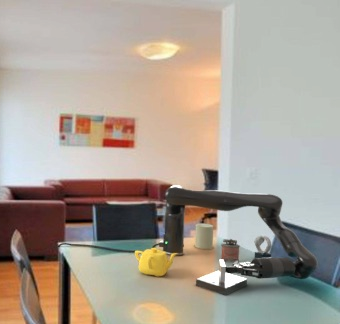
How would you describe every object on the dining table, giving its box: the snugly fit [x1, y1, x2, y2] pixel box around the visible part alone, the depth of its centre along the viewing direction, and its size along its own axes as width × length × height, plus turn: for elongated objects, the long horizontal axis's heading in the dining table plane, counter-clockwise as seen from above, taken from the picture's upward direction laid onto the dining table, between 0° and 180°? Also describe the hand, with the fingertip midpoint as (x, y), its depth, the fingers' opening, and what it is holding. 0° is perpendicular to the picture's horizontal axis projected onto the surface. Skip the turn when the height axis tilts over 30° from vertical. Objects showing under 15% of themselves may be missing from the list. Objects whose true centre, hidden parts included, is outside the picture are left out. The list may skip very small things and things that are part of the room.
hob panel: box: [195, 270, 248, 296], centre depth 145 cm, size 16×13×3 cm
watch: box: [253, 235, 272, 258], centre depth 182 cm, size 6×8×11 cm
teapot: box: [134, 247, 178, 278], centre depth 158 cm, size 14×13×10 cm
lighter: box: [220, 238, 240, 263], centre depth 178 cm, size 8×3×10 cm, turn 84°
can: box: [194, 223, 215, 250], centre depth 202 cm, size 9×9×12 cm
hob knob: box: [218, 258, 227, 283], centre depth 145 cm, size 8×2×6 cm, turn 166°
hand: (226, 269), depth 142 cm, fingers closed
